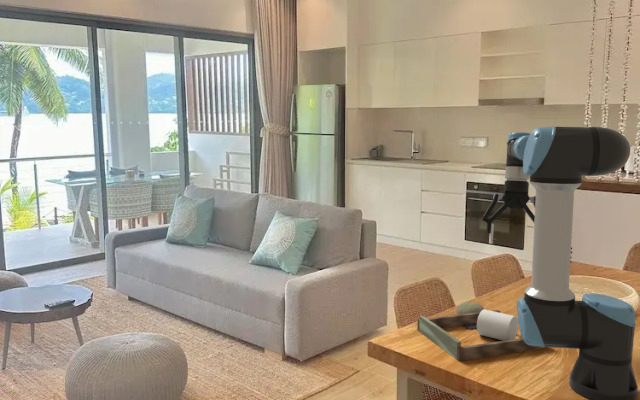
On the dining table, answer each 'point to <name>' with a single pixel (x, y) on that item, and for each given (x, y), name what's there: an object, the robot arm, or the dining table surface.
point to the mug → (497, 325)
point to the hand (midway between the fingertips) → (512, 245)
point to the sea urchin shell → (469, 308)
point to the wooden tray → (453, 345)
